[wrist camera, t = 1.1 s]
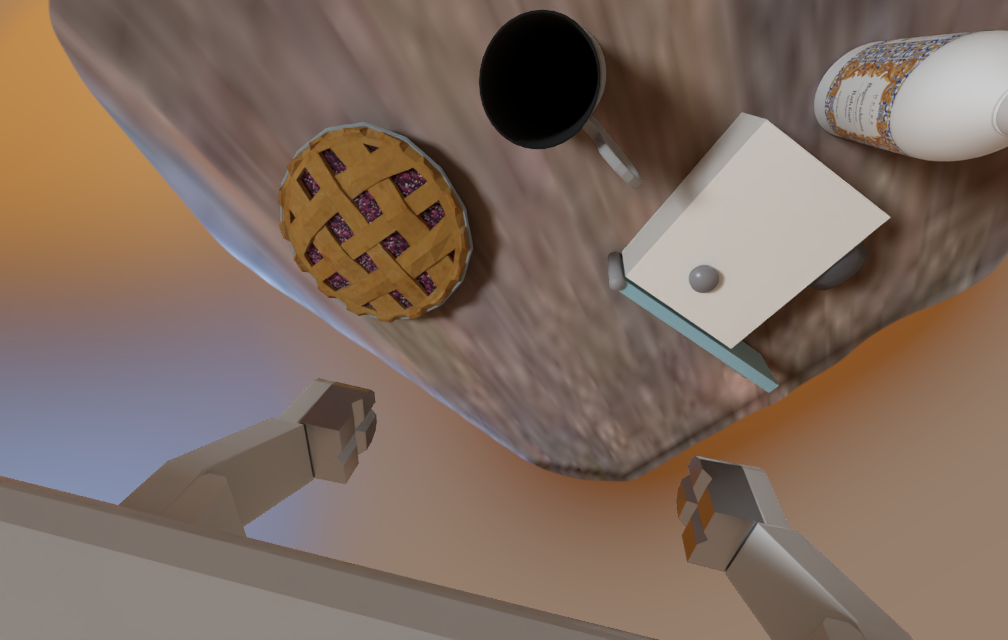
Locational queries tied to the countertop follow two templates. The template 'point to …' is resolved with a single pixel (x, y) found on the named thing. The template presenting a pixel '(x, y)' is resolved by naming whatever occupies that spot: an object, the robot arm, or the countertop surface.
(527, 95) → the grey mug
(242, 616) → the robot arm
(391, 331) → the countertop surface
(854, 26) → the countertop surface
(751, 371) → the side door
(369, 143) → the pie
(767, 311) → the knobbed cream box
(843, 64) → the bath foam
